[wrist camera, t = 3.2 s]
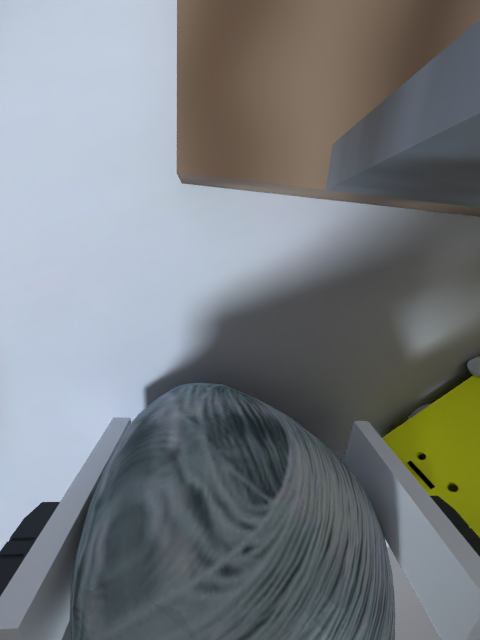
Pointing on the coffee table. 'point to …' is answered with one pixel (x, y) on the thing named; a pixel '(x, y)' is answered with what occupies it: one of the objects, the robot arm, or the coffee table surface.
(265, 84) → the roll holder
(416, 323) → the coffee table surface
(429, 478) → the yellow toy chassis
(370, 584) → the grey egg-shaped piece
